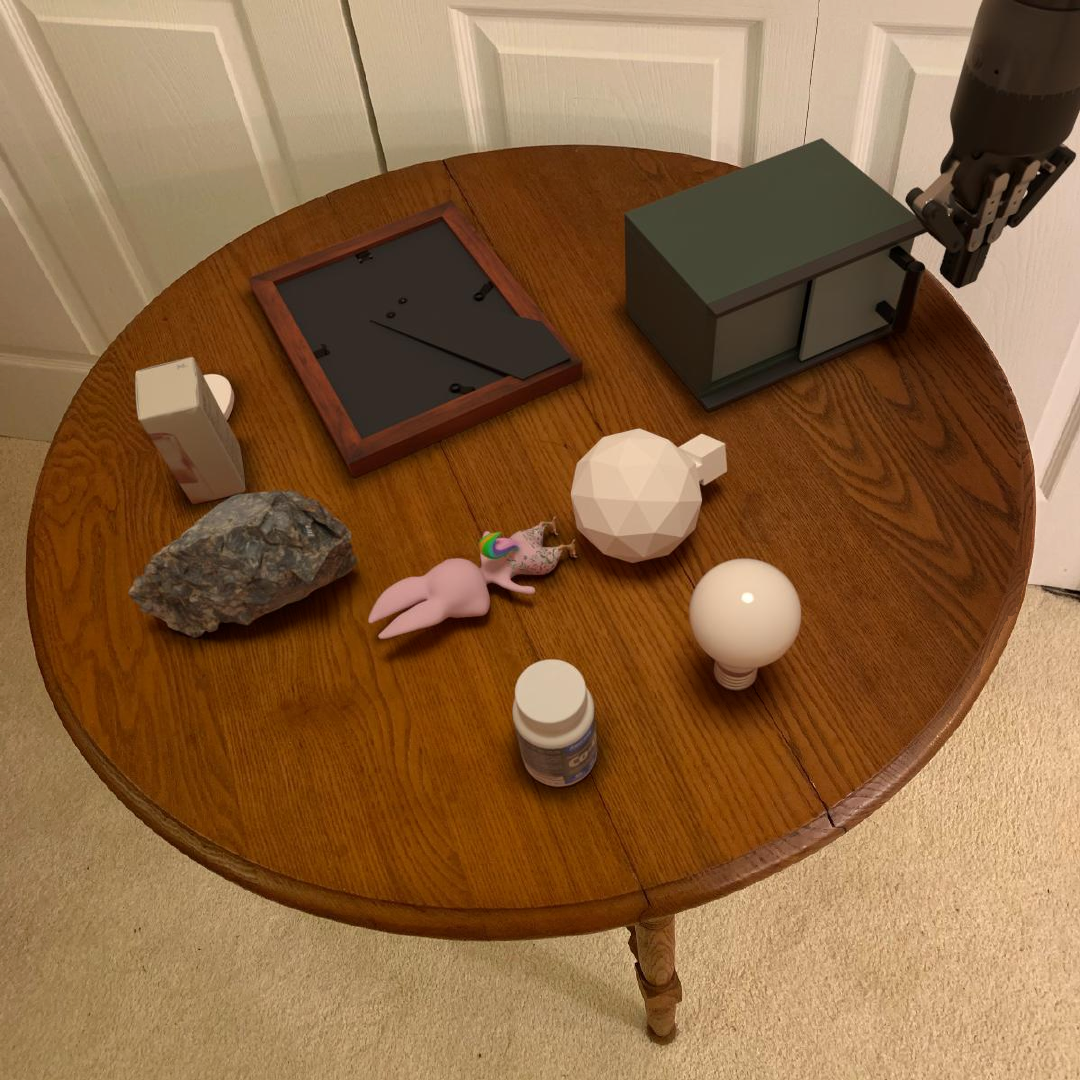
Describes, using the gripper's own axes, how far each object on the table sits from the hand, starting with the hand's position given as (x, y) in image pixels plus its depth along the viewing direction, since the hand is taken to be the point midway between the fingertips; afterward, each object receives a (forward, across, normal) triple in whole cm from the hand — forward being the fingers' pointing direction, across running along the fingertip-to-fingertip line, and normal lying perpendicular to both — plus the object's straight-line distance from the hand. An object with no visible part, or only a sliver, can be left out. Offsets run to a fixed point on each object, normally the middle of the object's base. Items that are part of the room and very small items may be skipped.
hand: (957, 279), depth 75 cm
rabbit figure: (+6, -43, -4) cm, 43 cm away
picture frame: (+6, -37, +22) cm, 44 cm away
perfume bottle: (+6, -29, -6) cm, 30 cm away
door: (+5, -7, +1) cm, 9 cm away
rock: (+6, -56, +2) cm, 57 cm away
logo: (+6, -56, +24) cm, 61 cm away
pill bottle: (+6, -43, -18) cm, 47 cm away
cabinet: (+6, -11, +9) cm, 16 cm away
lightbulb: (+6, -30, -18) cm, 36 cm away
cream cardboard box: (+6, -56, +15) cm, 59 cm away
